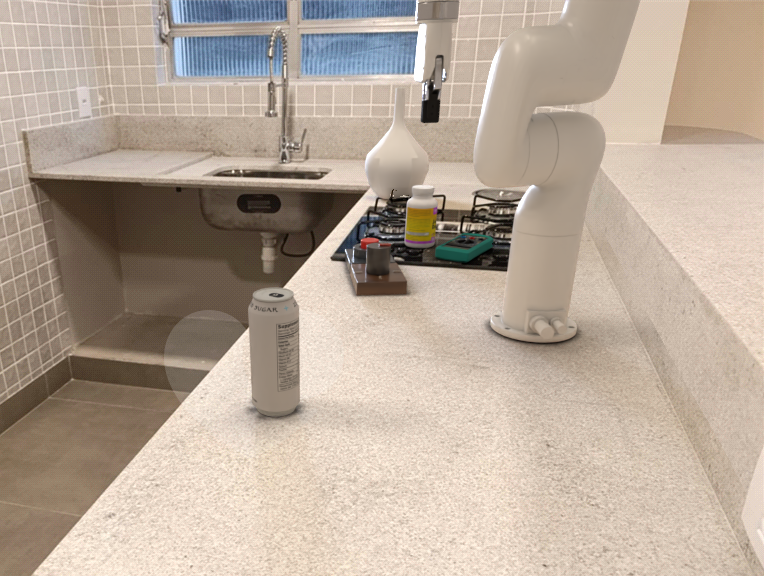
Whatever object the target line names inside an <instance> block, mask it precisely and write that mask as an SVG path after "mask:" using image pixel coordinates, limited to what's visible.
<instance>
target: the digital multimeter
mask: <svg viewBox="0 0 764 576" xmlns="http://www.w3.org/2000/svg"><path fill="white" fill-rule="evenodd" d="M492 243H493V245H492ZM493 247H494V238H493V237H492V236H490V235H486V234H482V233H472V232H464V233H461V234H459V235H458V236H456V237H454V238H452V239H450V240H448V241H446V242H444V243H441V244H440V245H438V246H436V247H435V250H434V257H435V258H436V259H438V260H442V261H448V262H455V263H463V264H467V263H468V262H470V261H472V260H473V259H475V258H477V257H478V256H480V255H482V254H484V253H485V252H487V251H489V250H490V249H492V248H493Z"/></svg>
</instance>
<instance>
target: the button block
mask: <svg viewBox="0 0 764 576" xmlns="http://www.w3.org/2000/svg"><path fill="white" fill-rule="evenodd" d="M366 254H367V249H362V248H361V242H360V243H356V244H354V245H353V246H352V248H345V249H344V261H345V265H346V267H347V270H348V274H349V275H350V267H351V264H366ZM390 263H397V262H396V260H395V258H394V257H393V255H392V254H391V257H390Z"/></svg>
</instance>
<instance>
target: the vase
mask: <svg viewBox="0 0 764 576" xmlns="http://www.w3.org/2000/svg"><path fill="white" fill-rule="evenodd" d="M393 108H394V109H393V121H392V124H391V126H390V128H389V130H388V131H387V132H386V133H385V134H384V135H383V137H382V138H381V139H380V140H379V141H378V143H377V144H376V145H374V146H373V148H372V149H371V150H370V151H369V152H368V153H367V154H366V156H365V157H366V158H365V161H364V172H365V176H366V180H367V183H368V186H369V187H370V189H371V191H372V193H374V195H375V196H376V197H377V198H379V199H383V200H388V201H390V200H389V198H390V194H391V191H392V190H393V189H394V190H397V191H394V192H393V195H394V198H395V199H396V198H403V197H400V196H403V195H409V196H410V197H411V198H412V197H413V194H412V187H413V186H416V185H424V183H425V181H426V178H427V175H428V174H429V173H428V172H429V168H430V160H429V159H430V158H429V154H428V153H427V151H426V150H425V149H424V148H423V147H422V146H421V145H420V144H419V142H418V141H417V140H416V139H415V137H414V136H413V135H412V133H411V132H410V131H409V129H408V127H407V125H406V120H405V114H406V113H405V111H406V87H395V93H394V107H393Z"/></svg>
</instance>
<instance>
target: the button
mask: <svg viewBox="0 0 764 576" xmlns="http://www.w3.org/2000/svg"><path fill="white" fill-rule="evenodd" d="M360 243H361V248H362V249H367V245H368V244H371V243H380V239H378V238H375V237H364V238H361V239H360Z"/></svg>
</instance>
